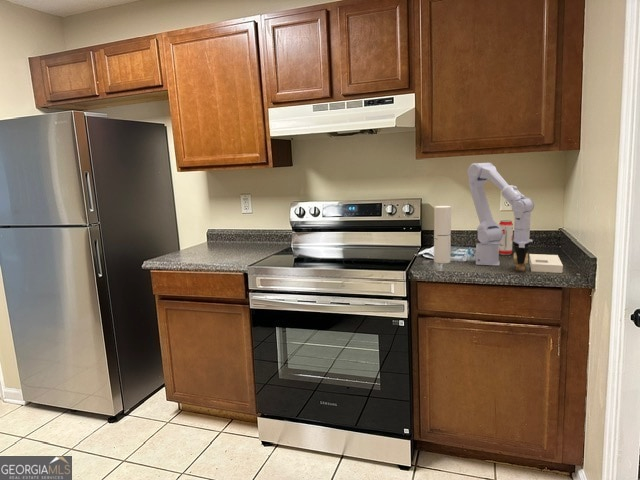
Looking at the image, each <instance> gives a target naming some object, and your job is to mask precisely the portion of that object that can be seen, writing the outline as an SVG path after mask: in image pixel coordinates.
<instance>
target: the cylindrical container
mask: <svg viewBox="0 0 640 480" xmlns="http://www.w3.org/2000/svg"><path fill="white" fill-rule="evenodd" d="M433 208H434V209H433V210H434V211H433V213H434V214H433V215H434V216H433V218H434V219H433V221H434V222H433V223H434V225H433V230H434V231H433V263H435V264H449V263H451V245H452V244H451V240H452V239H451V238H452V237H451V235H452V231H451V230H452V206H450V205H436V206H433Z"/></svg>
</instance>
